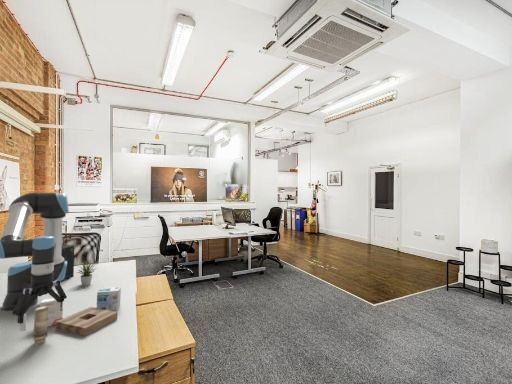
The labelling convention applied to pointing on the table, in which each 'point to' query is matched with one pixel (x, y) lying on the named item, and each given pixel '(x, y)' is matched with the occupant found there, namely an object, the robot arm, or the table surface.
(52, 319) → the ink box
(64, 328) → the board
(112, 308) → the light bulb box
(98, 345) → the table surface
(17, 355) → the table surface
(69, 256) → the headset box
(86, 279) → the house plant
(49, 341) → the table surface
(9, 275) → the robot arm
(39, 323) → the peg
